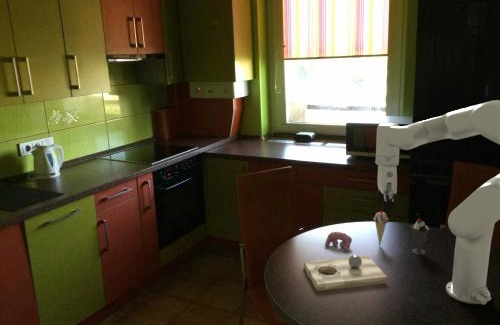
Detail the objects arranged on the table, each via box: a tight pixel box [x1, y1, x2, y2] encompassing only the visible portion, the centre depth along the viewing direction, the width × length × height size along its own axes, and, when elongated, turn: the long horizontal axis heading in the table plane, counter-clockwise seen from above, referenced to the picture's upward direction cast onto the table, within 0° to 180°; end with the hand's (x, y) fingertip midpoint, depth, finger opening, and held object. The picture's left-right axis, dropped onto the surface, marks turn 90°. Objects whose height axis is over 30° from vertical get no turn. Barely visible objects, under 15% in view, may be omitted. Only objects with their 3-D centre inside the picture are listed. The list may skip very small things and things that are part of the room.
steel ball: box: [348, 254, 362, 268], centre depth 152 cm, size 4×4×4 cm
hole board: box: [303, 254, 388, 292], centre depth 153 cm, size 16×24×2 cm, turn 99°
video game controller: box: [324, 231, 353, 253], centre depth 174 cm, size 10×5×7 cm, turn 58°
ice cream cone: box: [373, 210, 389, 247], centre depth 172 cm, size 6×6×15 cm
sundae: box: [410, 213, 431, 256], centre depth 166 cm, size 7×7×15 cm
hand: (384, 206), depth 154 cm, fingers open, 9 cm apart
